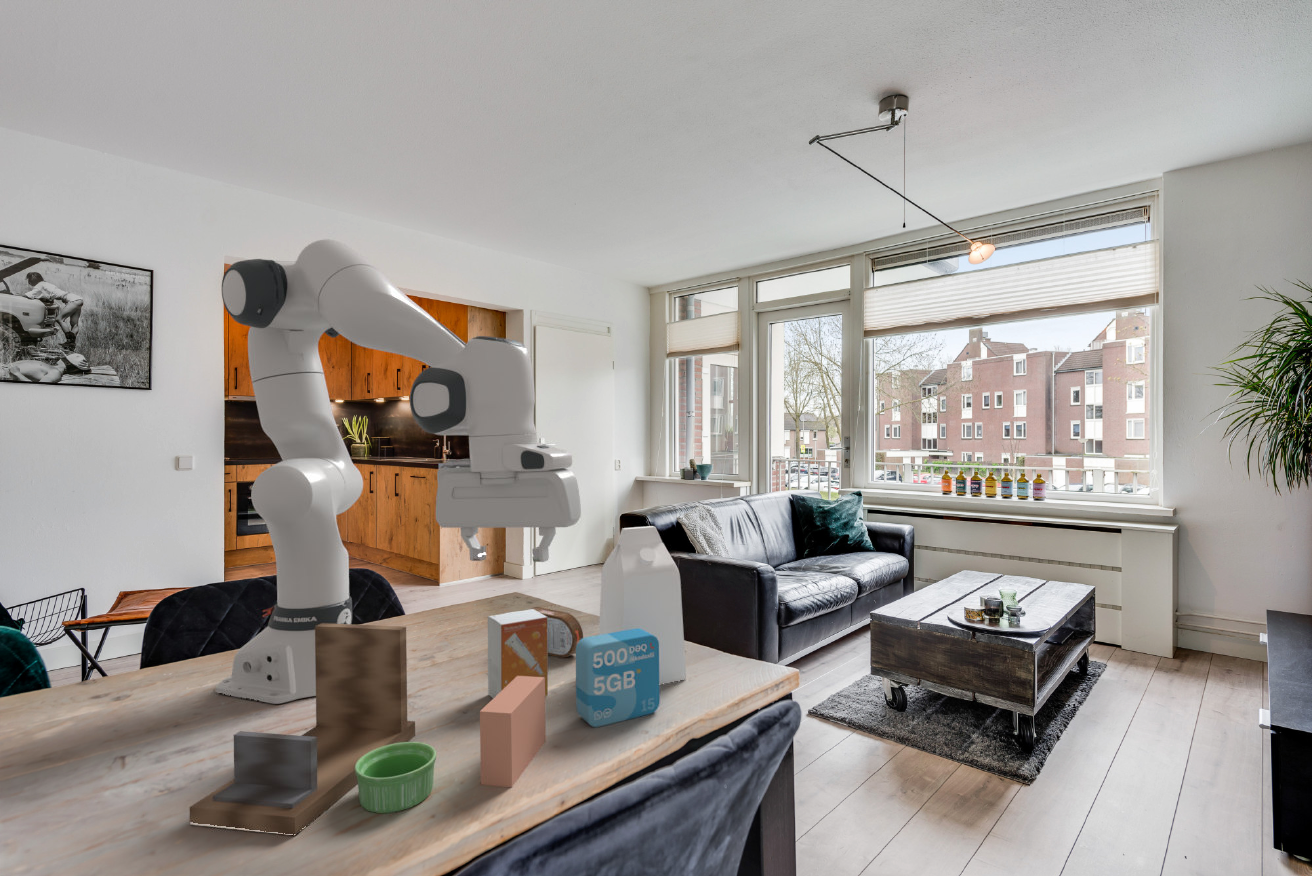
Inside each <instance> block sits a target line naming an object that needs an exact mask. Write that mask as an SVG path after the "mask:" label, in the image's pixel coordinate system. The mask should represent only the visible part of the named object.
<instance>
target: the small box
mask: <svg viewBox="0 0 1312 876" xmlns="http://www.w3.org/2000/svg"><path fill="white" fill-rule="evenodd" d="M548 660H549V658H548V635H547V617H546V616H545V615H543V614H541V613H539V612H538V611H536V610H534V609H531V608H529V609H524V610H518V611H510V612H505V613H500V614H495V615H488V616H487V687H488V688H487V689H488V690H487V694H488V696H489V697H491V698H492V699H493V698H495V697H496V696H497V695H498V694H499V693H500V692H501V691H502V690H503V689H504V688H505V687H506V686H507V685H508V684H509V683H510V682H511V681H512V680H514V679H515V678H516V677H517V676H530V677H545V697H547V696H548V693H549V689H548V687H549V685H548V680H549V679H548V674H549V673H548V671H549V669H548V667H549V666H548V665H549V664H548V663H549V662H548Z"/></svg>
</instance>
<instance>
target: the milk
mask: <svg viewBox="0 0 1312 876" xmlns="http://www.w3.org/2000/svg"><path fill="white" fill-rule="evenodd" d="M600 580H601V581H600V582H601V583H600V599H599V600H600V603H599V604H600V605H599V621H598V622H599V623H598V625H599V626H598V635H602V634H607V633H613V632H619V631H624V630H630V629H636V628H640V629H642V630H644V631H646V632H648V633H650V634H652V635H654V636H655V637H656V638H657V639H658V641H659V684H663V683H668V684H671V683H670V682H673V681H678V682H680V681H679V680H683V679H686V680H687V672H686V671H687V670H686V669H687V668H686V656H685V653H686V652H685V637H684V636H685V635H684V622H683V620H684V619H683V618H684V617H683V603H682V588H681V587H682V584H681V583H682V582H681V574H680V570H679V568H678V566H677V564H676V562H675V561H674V559H673V557H672V555H671V554H670V552H669V551H668V549H667V547H666V545H665V543H664V542H663V540H662V538H661V536H660V533H659V531H658V530H657V527H656V526H654V525H650V526H649V525H647V526H634V527H624V528H623V527H622V528H621V531H620V533H619V537H618V540H617V543H616V545H615V546H614V547H613V550H611V553H610V554H609V555H608V557H607V558H606V559H605V561H604V563H603V565H602V570H601V578H600ZM673 683H674V682H673ZM663 685H664V684H663Z"/></svg>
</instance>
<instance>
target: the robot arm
mask: <svg viewBox="0 0 1312 876" xmlns="http://www.w3.org/2000/svg"><path fill="white" fill-rule="evenodd" d="M221 296H222V297H221V298H222V302H223V305H224V308H225V310H226V312H227V313H228V314H229V316H230V317H231V318H232V319H233V321H235V322H236V323H238V324H241V325H243V326H247V327H249V330H248V334H247V353H248V354H247V355H248V366H249V367H248V368H249V373H250V378H251V383H252V389H253V394H254V397H255V402H256V407H257V412H258V417H259V421H260V426H261V428H262V431H263V432H264V433H265V434H266V436H267V437H268V438H269V439H270V440H271V441H272V443H273V444H274V446H275V448H276V449H277V452H278V454H279V455H280V458H281V461H279V462H277V463H275V464H273V465H271V466H270V467H268V468H266V469H265V470H263V471H262V472H261V473H260V474H259V475H258V476H257V477H256V478H255V481H254V483H253V485H252V488H251V492H250V493H251V496H250V498H251V502H252V506H253V508H254V510H255V511H256V513H257V514H258V515H259V516H260V517H261V518H262V519H263V520H264V522H265V524H266V528H267V530H268V531H267V532H268V534H269V537H270V540H271V543H272V547H273V550H274V555H275V565H276V591H277V593H276V594H277V597H276V599H277V600H276V602H277V603H276V604H274V605H273V606H272V607H269V608H267V609H264V610H262V613H264V612H265V614H263V615H262V617H263V618H265V617H268V616H270V617H269V621H268V624H267V626H266V627H265V628H264V629H263V630H261V632H259V633H258V634H256V635H255V636H254V637H253V638H252V639H250V640H249V641H248V642H247V643H246V644H244V645H242V646H241V647H240V648H239V649H238V651H237V652H236V654H235V656H234V658H233V663H232V668H231V669H232V670H231V675H229V676H227V677H226V678H224V679H222V680H221V681H219V683H217V685H216V686H215V691H214V692H215V693H216V692H217V693H216V694H219V693H223V694H222V695H224V694H225V696H230V695H231V696H230V697H236V698H241V697H242V699H246V698H250V699H249V700H251V699H254V700H253V701H257V700H260V701H259V702H263V703H267V704H272V705H273V704H274V705H275V704H283V703H288V702H292V701H295V700H298V699H304V698H310V697H316V668H315V626H317V625H319V624H321V623H330V624H352V622H353V600H352V598H353V597H351V596H350V577H349V576H350V575H349V574H350V569H349V567H350V566H349V564H350V563H349V562H350V561H349V559H350V557H349V551H348V550H347V548H346V547H345V546H344V544H343V541H342V537H341V534H340V530H339V526H338V523H337V515H340V514H343V513H345V512H346V511H347V510H349V509H350V508H351V507H352V506H353V505H354V504H355V503H356V502H357V501H358V499H359V498H360V497H361V495H362V493H363V489H364V479H363V476H362V474H361V472H360V470H359V469H358V468H357V466H356V465H355V464H354V463H353V461H352V459H351V456H350V453H349V451H348V448H347V446H346V444H345V442H344V440H343V437H342V435H341V433H340V430H339V428H338V426H337V425H338V424H337V423H336V420H335V417H334V414H333V413H334V412H333V409H332V406H331V405H332V404H331V401H330V396H329V391H328V386H327V381H326V377H325V373H324V372H325V371H324V368H323V365H322V361H321V358H320V352H319V341H320V339H321V337H322V336H323V334H324V333H325V334H326V335H327V336H328V337H330V338H333V339H334V338H336V337H339V335H341V336H342V337H343V338H345V339H347V340H348V341H349V342H352V343H353V344H355V345H357V346H360V347H362V348H367V349H370V350H371V349H372V350H376V351H379V352H380V351H382V352H386V353H391V354H396V355H401V356H404V357H408V358H411V359H414V360H417V361H420V362H422V363H424V364H425V365H427V366H429V367H427V368H426V369H424V370H422V371H421V372H420V373H419V374H418V375H417V376H416V377H415V379H414V381H413V383H412V386H411V389H410V393H409V408H410V411H411V415H412V417H413V419H414V421H415V422H416V424H417V425H418V426H419V428H421V429H422V430H423V431H424V432H426V433H427V434H434V435H437V436H468V445H469V447H468V449H469V458H462V459H454V458H453V459H452V458H451V459H447V460H445V462H444V463H442V464H441V465H440V466H439V468H438V469H437V473H436V476H437V479H436V480H437V489H436V497H435V499H436V500H435V519H436V520H435V521H436V522H437V523H438V525H439V526H440V528H444V529H447V528H448V529H449V528H450V529H451V528H453V529H454V528H460V536H461V538H462V540H463V542H464V543H465V545H466V546H467V548H468V550H469V560H470V561H471V562H477V561H478V562H482V561H484V560H486V558H487V553H486V551H487V546H486V545H481V544H480V542H479V540H478V538H477V536H476V534H479V529H481V528H490V529H491V528H538V536H540V537H541V536H542V538H541V541H540V542H539V545H538V546H536V547H533V548H532V549H531V550H532V555H533V556H532V560H533V563H544V562H548V560H549V558H550V557H549V555H550V554H549V553H550V552H549V547H550V545H551V544H552V542H553V540H554V537H555V536H556V534H557V533H556V529H557V528H568V527H571V526H574V525H576V524H577V523H578V521H579V520H580V518H581V517H582V509H581V508H582V506H581V497H580V491H579V484H578V480H577V477H576V476H575V474H574V472H573V471H571V470H570V469H568V468H570V467H572V465H573V455H572V453H571V452H570V451H567V450H564V449H560V448H557V447H554V446H551V445H547V444H544V443H540V442H538V441H537V439H538V436H537V435H538V434H537V433H538V432H537V428H536V425H535V423H534V418H533V417H534V415H533V414H534V408H535V404H536V394H535V380H534V370H533V364H532V360H531V356H530V352H529V351H528V348H527V346H526V345H525V344H523V342H521V341H519V340H516V339H508V338H502V337H496V336H486V335H478V336H475V337H471V338H470V339H468V341H467V342H465V341H464V340H462V339H461V338H460V337H459V336H458V335H456V334H455V333H454V332H453V331H451V329H450V328H447V327H446V325H444V324H442V323H441V322H440V321H438V320H437V319H436V318H434V317H433V316H432V315H431V314H430V313H428V312H427V311H426V310H424V308H423V307H421V306H419V305H418V304H417V303H416V302H415V301H413V300H412V299H410V297H408V296H407V295H406V294H405V293H404V292H403V291H402V290H401V289H399V288H398V287H397V286H396V285H395V284H394V283H393V282H392V281H391V280H389V278H388V277H387V276H386V275H385V274H384V273H383V272H382V271H380V270H379V269H378V268H377V267H376V266H375V265H374V264H373V263H372V262H371V261H370V260H368V259H367V258H366V257H365V256H363V255H362V254H361V253H359V252H358V251H356V250H355V249H353V248H352V247H350V246H348V245H347V244H345V243H343V242H340V241H338V240H335V239H319V240H316V241H312V242H311V243H310V244H308V245H307V246H305V247H303V249H302V250H301V252H300V253H299V254H298V256H297V259H296V260H294V261H290V260H289V261H288V260H273V259H262V258H253V259H252V258H251V259H245V260H239V261H237V262H234V263H232V264H231V265H230V266H229V267H228V268H227V269H226V271H225V272H224V274H223V276H222V281H221Z"/></svg>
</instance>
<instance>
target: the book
mask: <svg viewBox="0 0 1312 876" xmlns="http://www.w3.org/2000/svg"><path fill="white" fill-rule="evenodd" d="M546 736H547V735H546V696H545V677H530V676H517V677H516V678H515V679H514V680H512V681H511V682H510V683H509V684H508V685H507V686H506V687H505V688H504V689H503V690H502V691H501V692H500V693H499V694H498V695H497V696H496V697H495V698H492V700H490V701H489V702H488V703H487V704H486V705H485V706H483V708H481V710H480V711H479V738H480V739H479V742H480V744H479V745H480V746H479V747H480V785H481V786H482V785H483V786H494V787H505V788H513V786H514V785H515V784H516V783H517V781H518V780H519V779H520V777H522V775H523V773H524V772H525V771H526V769H527V768H528V767H529V765H530V764H531V762H532V761H533V760H534V758H535V757H536V755H537V754H538V753H539V751H540V750H541V749H542V747H544V745H545V743H546V742H547V740H546Z"/></svg>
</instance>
